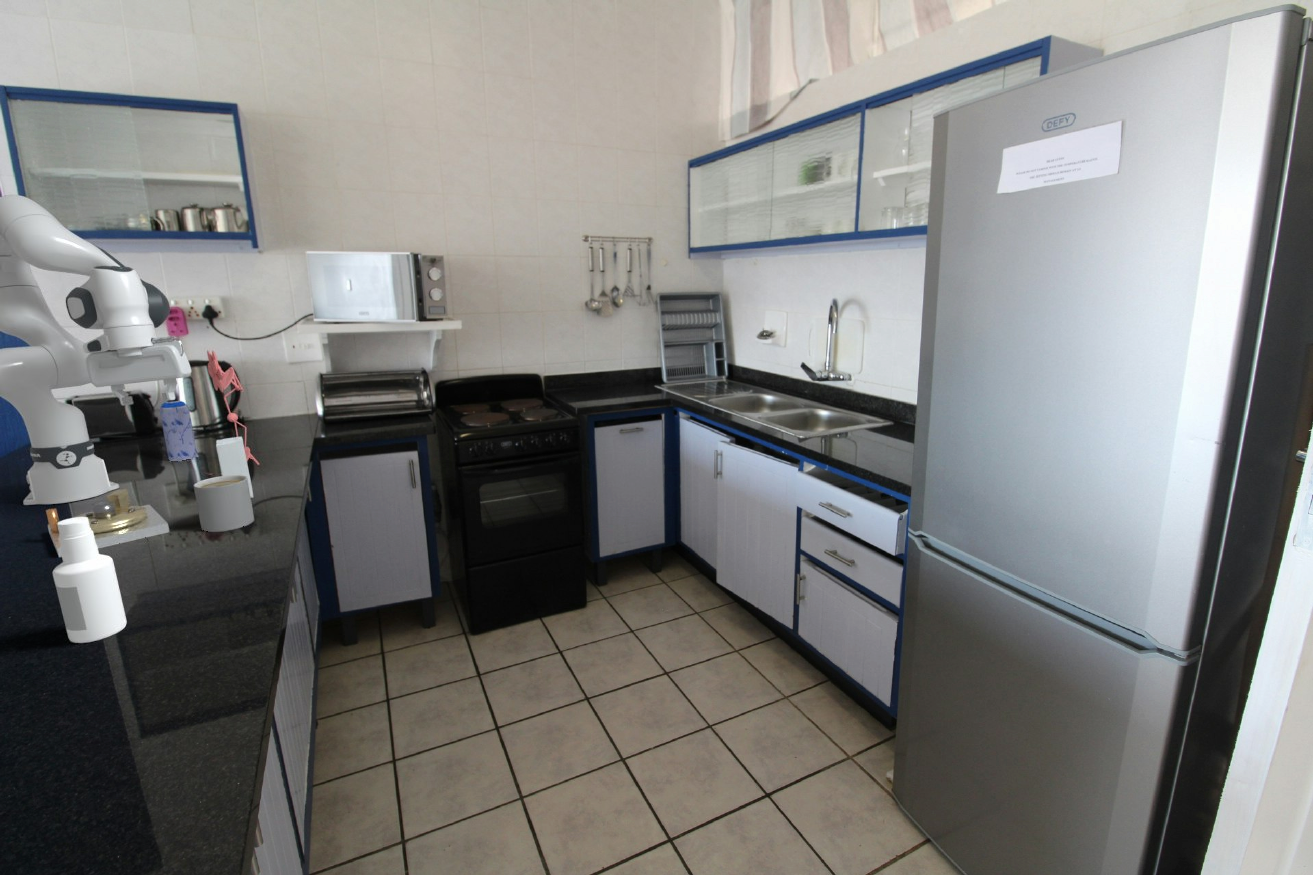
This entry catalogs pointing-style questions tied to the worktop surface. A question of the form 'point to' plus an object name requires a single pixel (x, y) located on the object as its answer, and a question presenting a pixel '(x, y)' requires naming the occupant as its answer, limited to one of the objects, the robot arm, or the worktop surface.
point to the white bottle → (87, 585)
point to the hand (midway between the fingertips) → (148, 402)
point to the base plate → (133, 532)
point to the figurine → (223, 382)
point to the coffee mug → (224, 503)
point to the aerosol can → (178, 430)
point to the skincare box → (233, 458)
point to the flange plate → (117, 519)
